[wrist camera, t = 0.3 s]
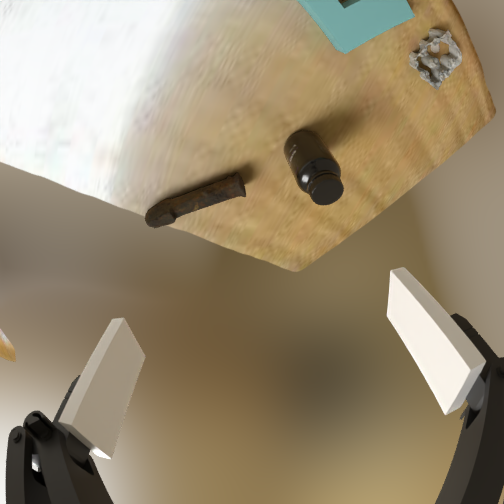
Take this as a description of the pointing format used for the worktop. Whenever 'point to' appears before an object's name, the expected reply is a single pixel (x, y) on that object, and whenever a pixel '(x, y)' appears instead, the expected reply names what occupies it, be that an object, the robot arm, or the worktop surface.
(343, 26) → the teal square-hole block
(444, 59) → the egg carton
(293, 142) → the supplement bottle
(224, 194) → the dark brown wooden rod
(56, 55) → the worktop surface
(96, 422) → the robot arm
